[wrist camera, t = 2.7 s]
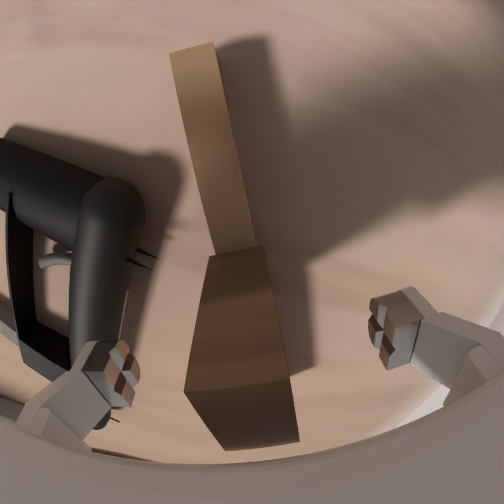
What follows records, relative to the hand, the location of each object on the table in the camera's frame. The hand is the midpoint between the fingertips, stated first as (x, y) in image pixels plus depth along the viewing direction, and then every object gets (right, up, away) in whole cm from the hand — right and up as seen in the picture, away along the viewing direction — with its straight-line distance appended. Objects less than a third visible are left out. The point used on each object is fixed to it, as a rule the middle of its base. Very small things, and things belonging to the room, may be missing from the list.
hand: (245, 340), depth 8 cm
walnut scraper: (0, +2, +5) cm, 5 cm away
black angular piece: (-14, 0, +6) cm, 15 cm away
